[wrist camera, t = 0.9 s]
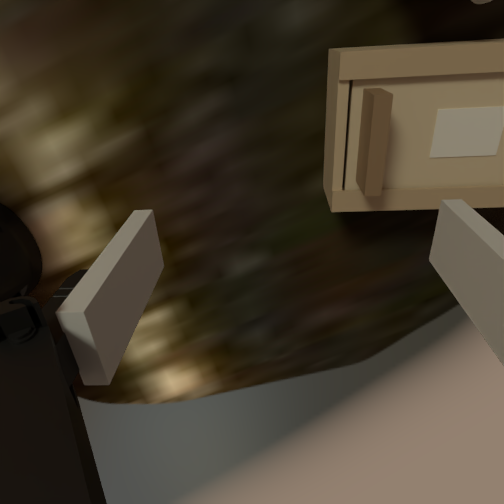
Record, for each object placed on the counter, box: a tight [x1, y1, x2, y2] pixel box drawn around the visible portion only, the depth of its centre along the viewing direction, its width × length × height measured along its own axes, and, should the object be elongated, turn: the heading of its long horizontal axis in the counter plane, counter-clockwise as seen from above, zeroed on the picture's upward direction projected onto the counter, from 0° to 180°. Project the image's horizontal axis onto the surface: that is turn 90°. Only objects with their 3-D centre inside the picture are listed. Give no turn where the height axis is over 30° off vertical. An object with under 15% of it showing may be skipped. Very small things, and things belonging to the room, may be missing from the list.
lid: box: [344, 72, 504, 196], centre depth 28 cm, size 14×10×4 cm
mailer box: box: [323, 39, 504, 212], centre depth 31 cm, size 16×12×6 cm
